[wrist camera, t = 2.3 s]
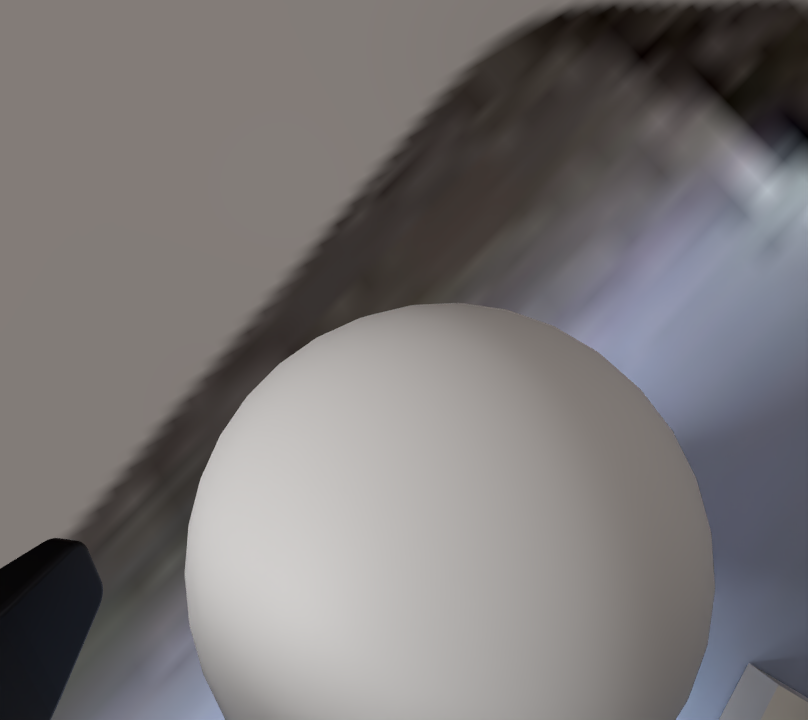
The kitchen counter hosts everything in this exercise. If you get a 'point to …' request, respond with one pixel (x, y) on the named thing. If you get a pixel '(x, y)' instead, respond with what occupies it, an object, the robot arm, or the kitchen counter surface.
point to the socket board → (764, 699)
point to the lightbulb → (449, 532)
